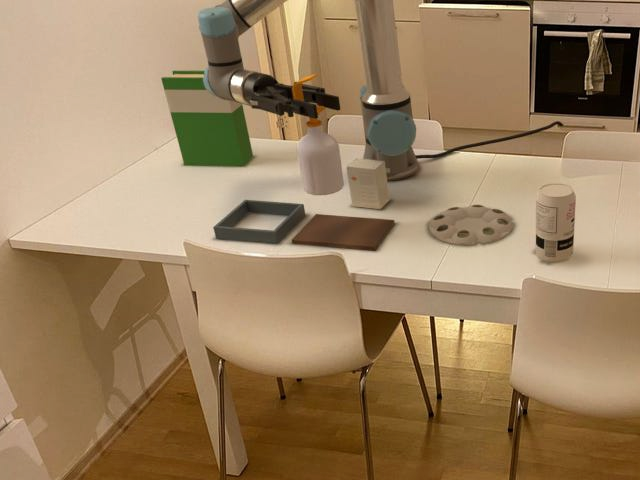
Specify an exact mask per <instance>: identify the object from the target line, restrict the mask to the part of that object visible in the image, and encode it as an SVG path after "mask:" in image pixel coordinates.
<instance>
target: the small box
mask: <svg viewBox="0 0 640 480" xmlns="http://www.w3.org/2000/svg"><path fill="white" fill-rule="evenodd" d="M345 167H346V175H347V181H348V188H349V193H350V199H351V206H352V207H357V208H365V209H376V210H381V209H382V208H384V207H385V206H386V204H387V203H389V202H390V199H391V198H390V193H389V191H390V190H389V185H388V181H387V175H386V167H385V161H379V160H368V159H363V158H355V159H354V160H353V161H351V162H350V163H349V164H348V165H346V166H345Z"/></svg>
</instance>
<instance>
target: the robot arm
mask: <svg viewBox="0 0 640 480" xmlns="http://www.w3.org/2000/svg"><path fill="white" fill-rule="evenodd" d="M286 2H288V0H224V1H223V2H222V3H220V4H217V5H215V6H214V7H213V6H212V7H207V8H203V9H201V10H199V11H198V12H197V20H198V29H199V32H200V35H201V38H202V43H203V47H204V50H205V55H206V59H207V67H206V68H205V70H203V71H204V77H203V82H204V86H205V88H206V89H207V91H208V92H209V93H210V94H212V95H214V96H216V97H219V98H220V99H223V100H229V101H233V102H237V103H241V104H242V105H245V106H249V107H250V108H251V109H254V110H260V111H265V112H267V113H271V114H274V115H277V116H281V117H282V116H284V115H285V113H286V114H287V117H288V118H294V117H295V115H299V116H302V117H303V116H304V117H306V118H309V117H310V118H314V119H316V118H317V119H318V118H319V115H318V114H317V107H316V106H324V107H325V109H330V110H333V111H337V112H339V111H340V110H341V103H340V97H339V96H337V95H333V94H330V93H326V88H324V87H321V86H316V85H312V84H305V83H302V91H303V97H304V101H300V100H296V99H295V100H294V98H293V92H292V86H293V85H294V84H295V83H297V82H298V81H294V82H293V85H288V84H284V83H279V81H277V79H276V77H274V76H272V75H271V74H267V73H263V72H259V71H255V70H250V69H246V68H245V67H244V62H243V57H242V52H241V46H240V42H239V37H240V36H242V35H243V34H244V33H246V32H247V31H249V30H250V29H251V28H252V27H254V25H256V24H257V23H259V22H260V21H262V20H263V19H264V18H266V17H267V16H268V15H270V14H271V13H273V12H274V11H275V10H276V9H278V8H279V7H280V6H282V5H284V3H286ZM353 3H354V8H355V9H354V10H355V16H356V22H357V29H358V36H359V43H360V50H361V51H360V52H361V58H362V64H363V69H364V70H363V71H364V78H365V85H363V86H361V87H360V89H359V100H360V107H361V115H362V123H363V131H364V139H365V146H364V151H363V156H362V159H368V160H379V161H385V167H386V175H387V182H388V181H397V180H402V179H406V178H409V177H412V176H413V175H415V174H416V173H417V172H418V170H419V162H418V160H419V159H437V158H441V157H445V156H447V155H449V154H452V153H455V152H457V151H463V150H466V149H470V148H476V147H482V146H486V145H491V144H496V143H502V142H506V141H507V142H508V141H511V140H515V139H519V138H523V137H526V136H531V135H534V134H537V133H541V132H543V131H546V130H549V129H551V128H553V127H555V126H559V127H564V123H562V122H561V121H559V120H557V121H553V122H552V123H549V124H548V125H545V126H541V127H539V128H536V129H533V130H530V131H525V132H522V133H518V134H514V135H509V136H505V137H500V138H495V139H490V140H484V141H480V142H475V143H468V144H464V145H459V146H455V147H453V148H451V149H448V150H445V151H442V152H439V153H434V154H415V151H414V148H413V145H414V143H415V141H416V137H417V125H416V123H415V120H414V116H413V109H412V108H413V107H412V99H411V92H410V91H409V90H407V88H406V87H405V85H404V84H403V78H402V77H403V76H402V69H401V60H400V51H399V43H398V33H397V25H396V17H395V16H396V15H395V8H394V7H395V6H394V0H353ZM294 114H295V115H294Z"/></svg>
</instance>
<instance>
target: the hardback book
mask: <svg viewBox="0 0 640 480" xmlns="http://www.w3.org/2000/svg"><path fill="white" fill-rule="evenodd" d="M204 71H205V70H172V71H171V72H172V75H171V76H163V77H161V78H160V79H161V83H162V86H163V90H164V94H165V97H166V102H167V105H168V109H169V113H170V118H171V120H172V125H173V128H174V131H175V135H176V139H177V142H178V143H177V144H178V146H179V151H180V154H181V157H182V161H183V165H184V166H202V167H203V166H205V167H206V166H207V167H208V166H209V167H245V166H246V165H247V164H248V163H249V162H250V161H252V159H253V158H254V154H253V148H252V144H251V139H250V135H249V130H248V125H247V119H246V115H245V109H244V104H241V103H237V102H233V101H229V100H223V99H220V98H219V97H216V96H214V95H212V94H210V93H209V92H208V91H207V89H206V88H205V86H204V82H203V77H204Z"/></svg>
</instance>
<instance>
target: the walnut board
mask: <svg viewBox="0 0 640 480" xmlns="http://www.w3.org/2000/svg"><path fill="white" fill-rule="evenodd" d="M395 221H396V220H395V219H386V218H375V217H374V218H373V217H360V216H347V215H337V214H336V215H335V214H334V215H333V214H323V213H321V214H320V213H315V214H314V216H313V217H311V219H310V220H309V221H308V222H307V223H306V224H305V225H304V226H303V227H302V228H301V229H300V230H299V231H298V233H296V234H295V236H294V237H293V238H292V239H291V244H292V245H304V246H314V247H325V248H326V247H327V248H338V249H350V250H362V251H373V252H375V251H377V249H378V247H379V246H380V245H381V243H382V242H383V241H384V239H385V238H386V236H387V235H388V234H389V232H390V231H391V229H392V228H393V227H394V226H395V224H396V222H395Z"/></svg>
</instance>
